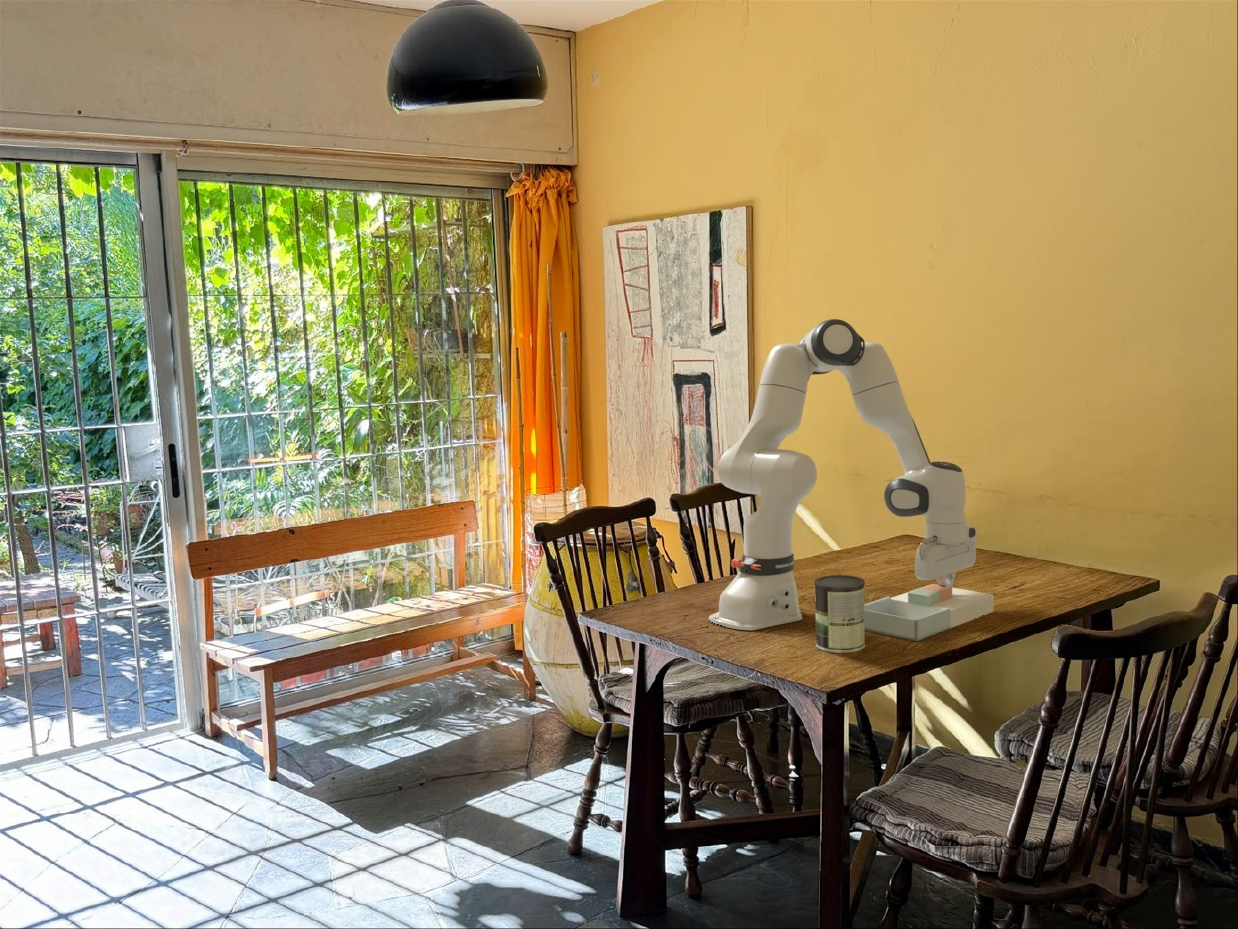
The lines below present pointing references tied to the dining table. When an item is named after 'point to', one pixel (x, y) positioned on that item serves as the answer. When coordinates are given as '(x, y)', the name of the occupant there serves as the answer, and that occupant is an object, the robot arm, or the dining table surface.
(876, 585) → the dining table surface
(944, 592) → the tile terracotta
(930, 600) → the tile sage
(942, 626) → the box
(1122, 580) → the dining table surface
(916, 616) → the white shallow box
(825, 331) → the robot arm
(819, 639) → the coffee can
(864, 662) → the dining table surface
